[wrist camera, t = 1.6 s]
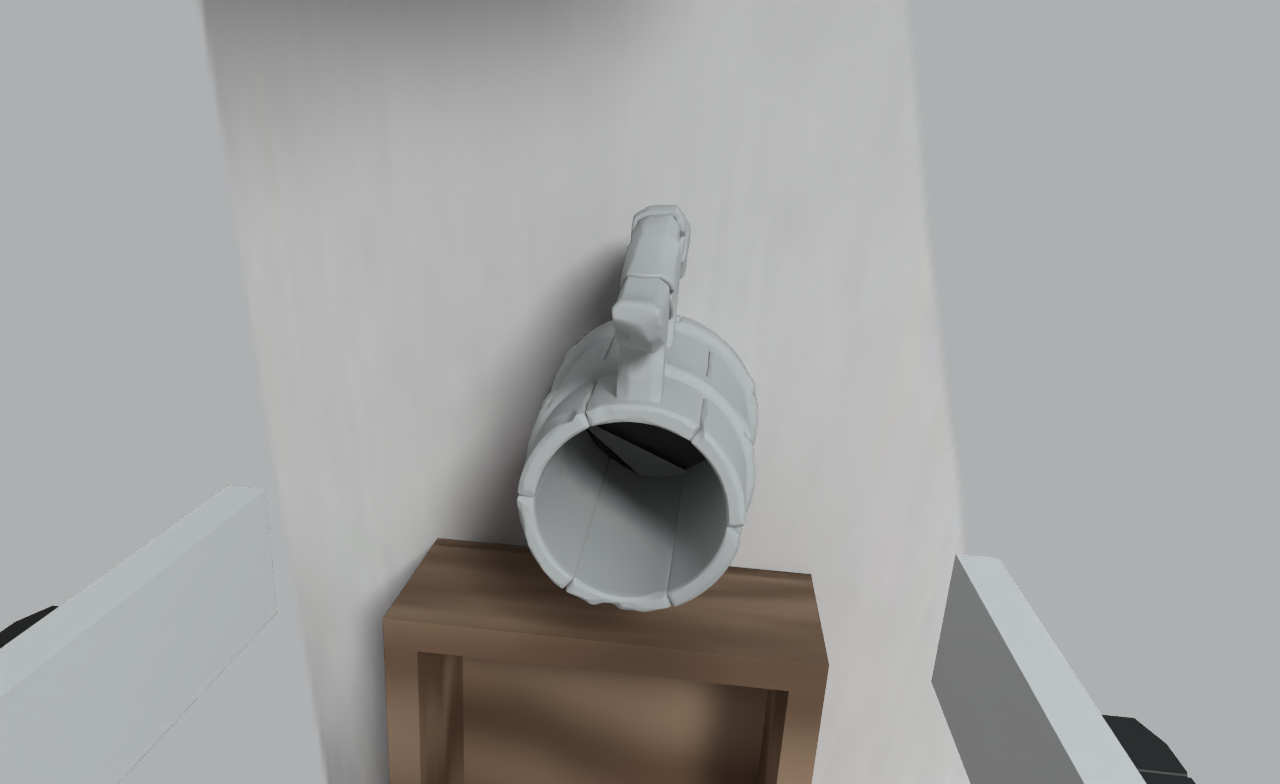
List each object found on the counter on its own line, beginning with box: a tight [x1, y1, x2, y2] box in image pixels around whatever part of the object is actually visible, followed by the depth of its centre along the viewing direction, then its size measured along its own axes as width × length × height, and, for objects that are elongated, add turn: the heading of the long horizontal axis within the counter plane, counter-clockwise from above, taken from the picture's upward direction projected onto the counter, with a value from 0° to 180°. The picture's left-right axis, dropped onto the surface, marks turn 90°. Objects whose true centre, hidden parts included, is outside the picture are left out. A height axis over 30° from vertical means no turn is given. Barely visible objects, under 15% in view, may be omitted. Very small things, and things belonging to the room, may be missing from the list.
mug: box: [517, 205, 758, 612], centre depth 26 cm, size 8×12×12 cm, turn 177°
